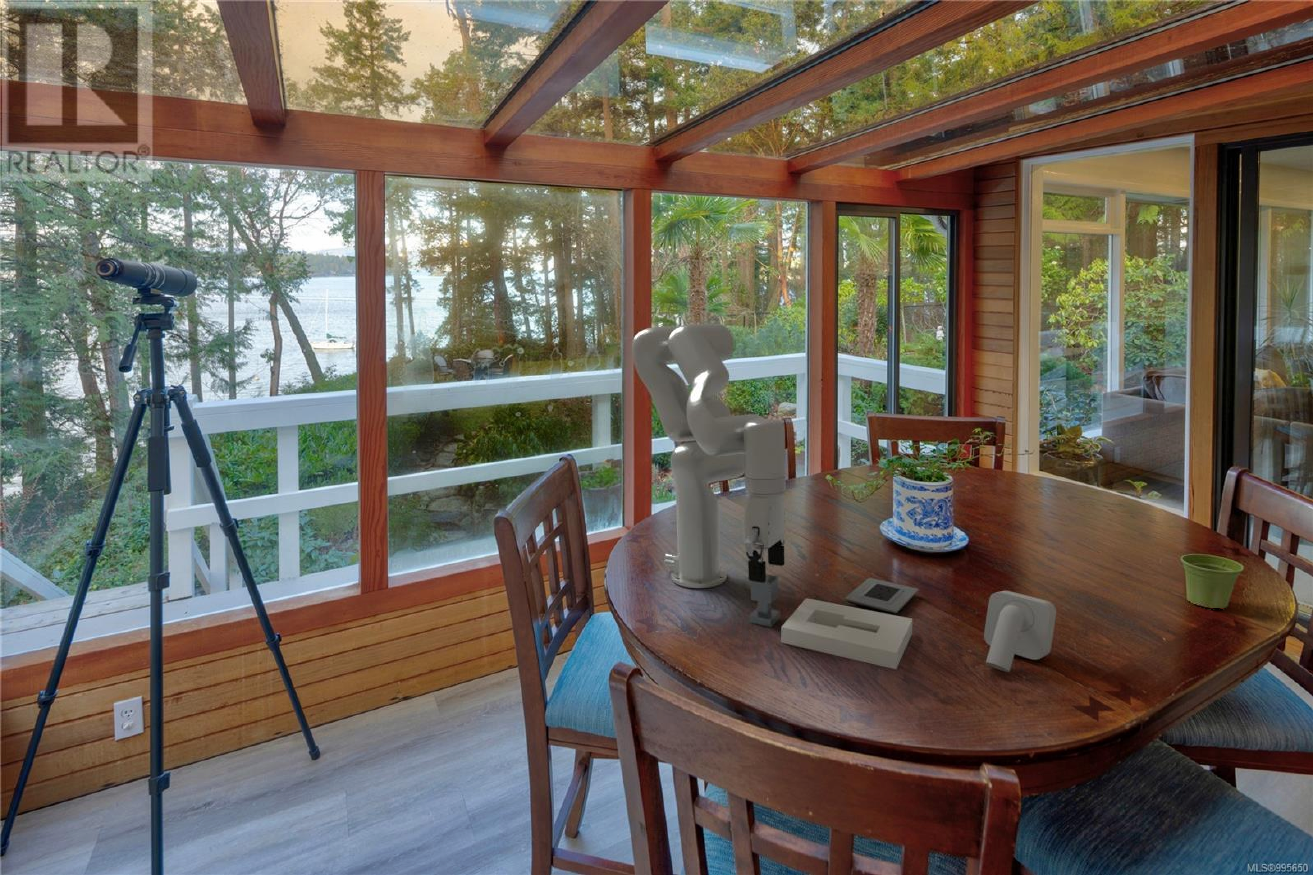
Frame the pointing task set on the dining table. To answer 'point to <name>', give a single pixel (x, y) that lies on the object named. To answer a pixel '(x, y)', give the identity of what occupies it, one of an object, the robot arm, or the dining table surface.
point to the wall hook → (1017, 628)
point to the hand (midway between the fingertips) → (767, 572)
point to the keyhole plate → (848, 632)
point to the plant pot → (1210, 579)
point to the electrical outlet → (881, 595)
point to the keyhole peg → (764, 601)
